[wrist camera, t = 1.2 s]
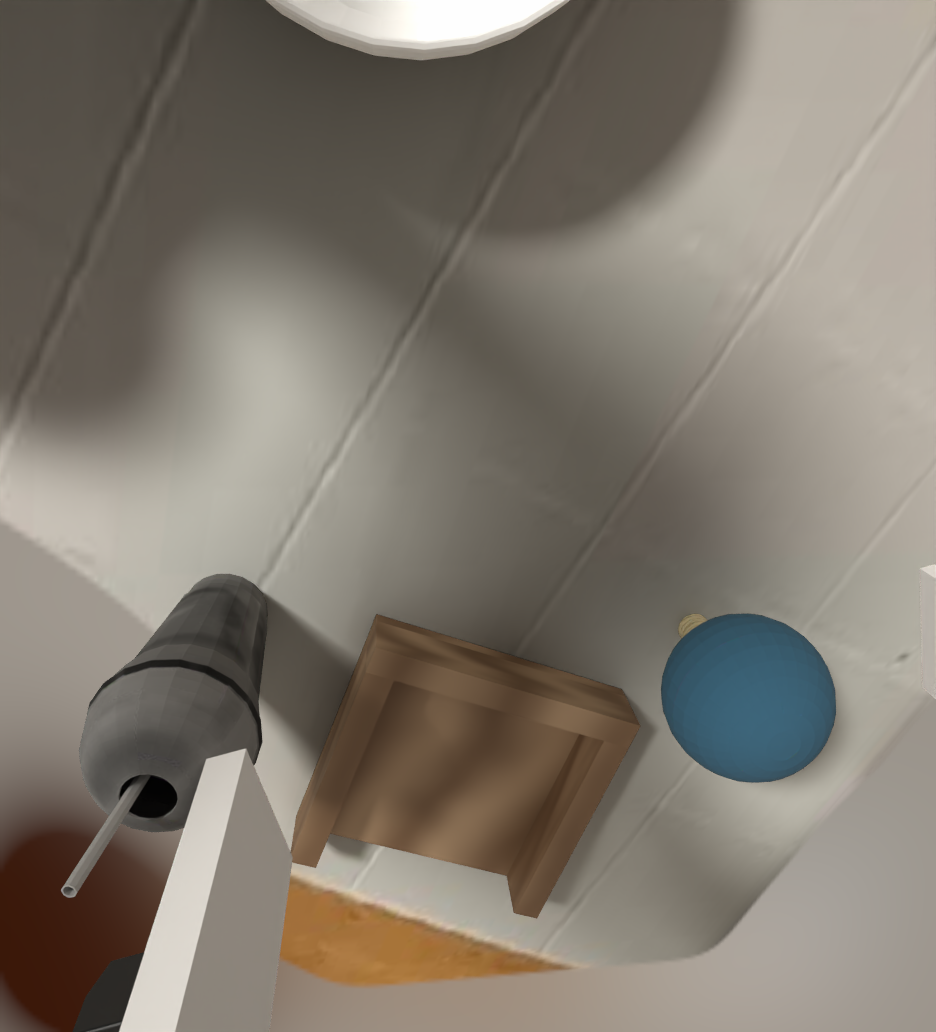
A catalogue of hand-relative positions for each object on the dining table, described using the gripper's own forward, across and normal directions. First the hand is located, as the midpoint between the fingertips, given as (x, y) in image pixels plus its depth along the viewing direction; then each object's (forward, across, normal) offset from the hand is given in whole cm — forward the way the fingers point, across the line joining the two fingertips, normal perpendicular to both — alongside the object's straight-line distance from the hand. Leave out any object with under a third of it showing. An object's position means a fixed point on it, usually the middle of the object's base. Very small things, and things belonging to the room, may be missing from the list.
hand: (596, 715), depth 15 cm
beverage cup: (+28, -16, -8) cm, 33 cm away
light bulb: (+28, +10, -17) cm, 34 cm away
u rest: (+28, -5, -22) cm, 36 cm away
